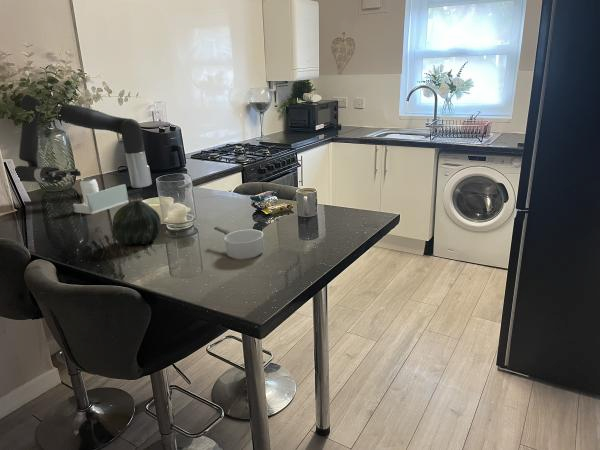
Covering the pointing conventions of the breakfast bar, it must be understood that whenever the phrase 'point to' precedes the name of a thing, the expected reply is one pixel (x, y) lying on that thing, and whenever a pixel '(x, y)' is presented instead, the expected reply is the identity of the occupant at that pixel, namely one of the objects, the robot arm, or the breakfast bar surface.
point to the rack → (103, 200)
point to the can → (88, 187)
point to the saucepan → (243, 243)
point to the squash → (136, 223)
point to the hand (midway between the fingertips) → (70, 175)
